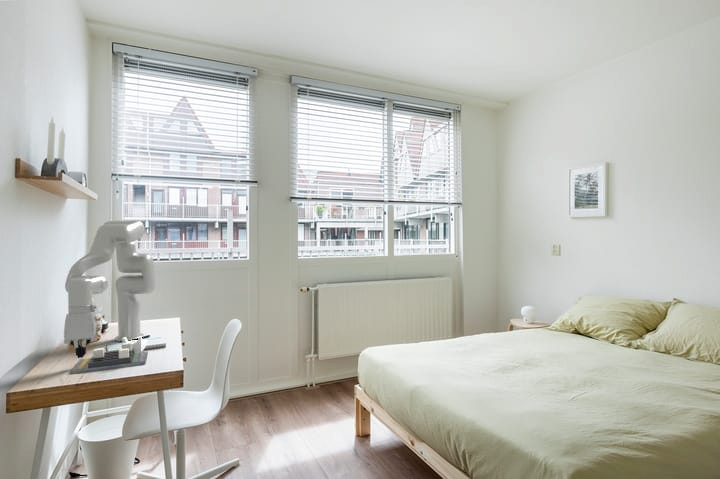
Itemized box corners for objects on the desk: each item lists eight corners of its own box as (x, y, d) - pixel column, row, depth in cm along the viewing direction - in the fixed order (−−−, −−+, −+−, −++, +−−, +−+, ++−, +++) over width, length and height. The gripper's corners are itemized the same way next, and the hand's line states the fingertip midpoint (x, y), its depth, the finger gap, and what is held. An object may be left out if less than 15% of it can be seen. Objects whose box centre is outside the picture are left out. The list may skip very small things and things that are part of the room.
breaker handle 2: (119, 361, 155) (119, 349, 155) (129, 360, 157) (128, 348, 157) (118, 363, 153) (118, 350, 153) (128, 362, 154) (128, 349, 154)
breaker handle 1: (122, 354, 164) (122, 343, 164) (131, 353, 166) (131, 342, 166) (122, 356, 162) (121, 344, 162) (131, 355, 163) (130, 343, 163)
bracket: (141, 354, 170) (140, 337, 170) (122, 356, 168) (122, 338, 168) (147, 346, 182) (147, 330, 182) (130, 348, 180) (129, 331, 180)
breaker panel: (80, 362, 159) (80, 354, 159) (147, 354, 169) (147, 347, 169) (71, 373, 146) (71, 365, 146) (145, 364, 156) (145, 356, 156)
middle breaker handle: (94, 360, 156) (94, 348, 156) (104, 359, 157) (104, 347, 157) (93, 362, 154) (93, 350, 154) (103, 361, 155) (103, 349, 155)
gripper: (104, 306, 159) (105, 352, 160) (59, 310, 153) (59, 357, 153) (101, 309, 153) (102, 357, 153) (53, 313, 146) (54, 362, 146)
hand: (80, 356), depth 153 cm, fingers closed
